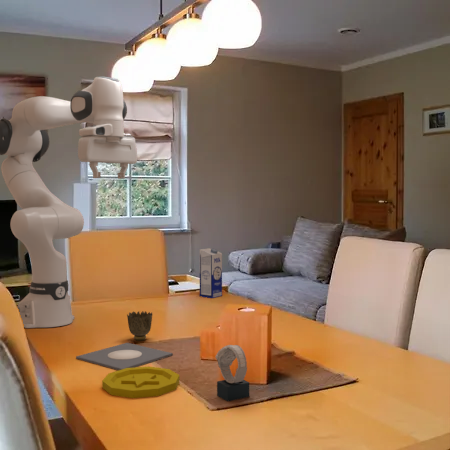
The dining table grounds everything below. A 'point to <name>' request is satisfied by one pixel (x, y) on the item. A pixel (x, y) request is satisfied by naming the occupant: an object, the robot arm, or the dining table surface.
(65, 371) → the dining table surface
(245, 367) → the watch
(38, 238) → the robot arm
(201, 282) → the milk carton
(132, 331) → the cup
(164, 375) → the decorative disc
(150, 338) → the dining table surface
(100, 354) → the charcoal mat
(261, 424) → the dining table surface
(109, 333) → the dining table surface
